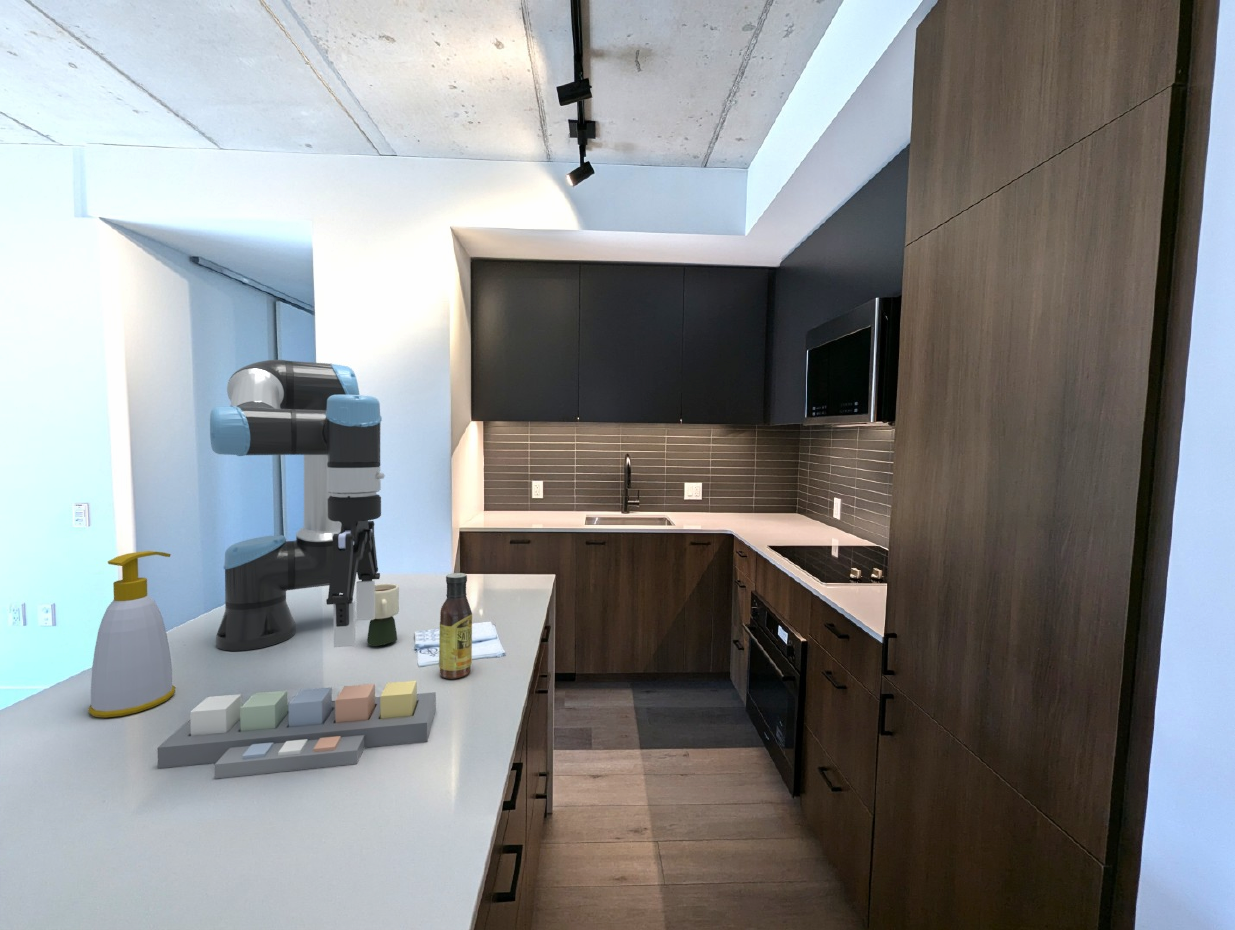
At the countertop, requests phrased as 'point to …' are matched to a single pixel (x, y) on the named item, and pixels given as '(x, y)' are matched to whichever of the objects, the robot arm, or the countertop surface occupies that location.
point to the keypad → (296, 742)
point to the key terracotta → (355, 703)
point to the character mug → (384, 615)
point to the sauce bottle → (455, 629)
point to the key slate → (310, 707)
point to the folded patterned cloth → (482, 644)
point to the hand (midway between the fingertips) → (356, 631)
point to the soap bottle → (130, 648)
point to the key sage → (264, 711)
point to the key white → (215, 715)
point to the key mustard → (399, 699)
